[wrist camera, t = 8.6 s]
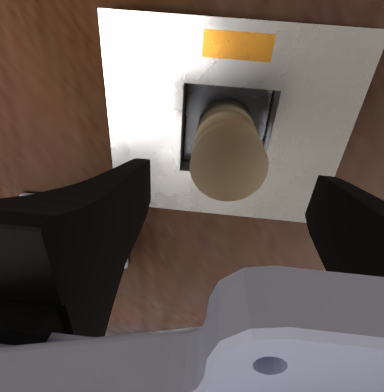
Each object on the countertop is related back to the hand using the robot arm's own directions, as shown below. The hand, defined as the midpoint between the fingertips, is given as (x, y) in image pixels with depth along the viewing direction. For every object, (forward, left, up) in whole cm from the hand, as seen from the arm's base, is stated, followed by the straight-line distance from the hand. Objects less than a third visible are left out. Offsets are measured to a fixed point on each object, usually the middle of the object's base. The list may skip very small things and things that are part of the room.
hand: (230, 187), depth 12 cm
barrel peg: (0, 0, -9) cm, 9 cm away
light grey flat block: (0, 0, -9) cm, 9 cm away
